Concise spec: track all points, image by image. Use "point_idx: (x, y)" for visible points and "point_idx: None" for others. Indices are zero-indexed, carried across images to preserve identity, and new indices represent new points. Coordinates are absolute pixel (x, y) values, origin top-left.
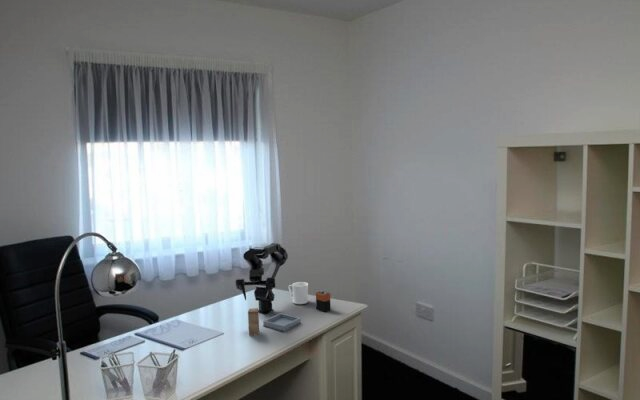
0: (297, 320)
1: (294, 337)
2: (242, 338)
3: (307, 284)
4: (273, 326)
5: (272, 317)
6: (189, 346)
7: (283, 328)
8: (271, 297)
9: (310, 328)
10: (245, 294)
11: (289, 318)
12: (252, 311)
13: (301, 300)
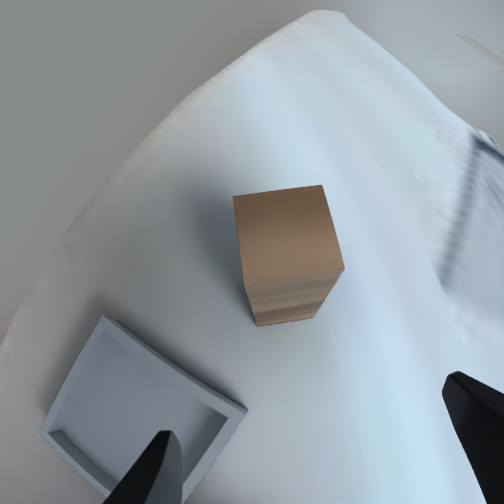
0: (50, 413)
1: (74, 254)
2: None
3: None
4: (170, 363)
5: (192, 473)
6: (477, 157)
7: (109, 318)
8: None
9: (19, 354)
10: (491, 407)
11: (102, 474)
12: (281, 194)
13: None
